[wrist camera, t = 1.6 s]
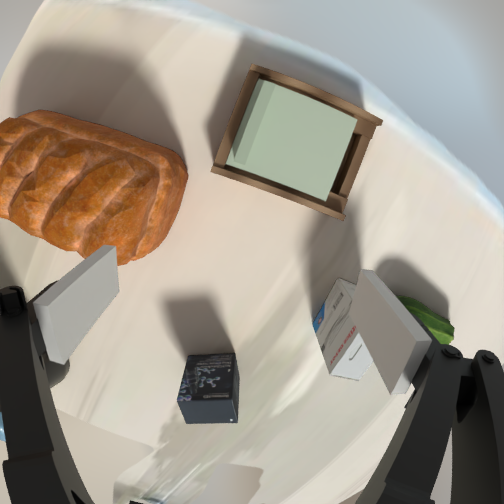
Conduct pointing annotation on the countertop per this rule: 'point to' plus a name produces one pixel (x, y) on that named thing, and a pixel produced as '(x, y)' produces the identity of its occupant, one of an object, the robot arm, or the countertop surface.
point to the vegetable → (430, 319)
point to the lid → (291, 139)
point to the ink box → (341, 334)
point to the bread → (88, 185)
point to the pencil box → (330, 206)
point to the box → (210, 389)
